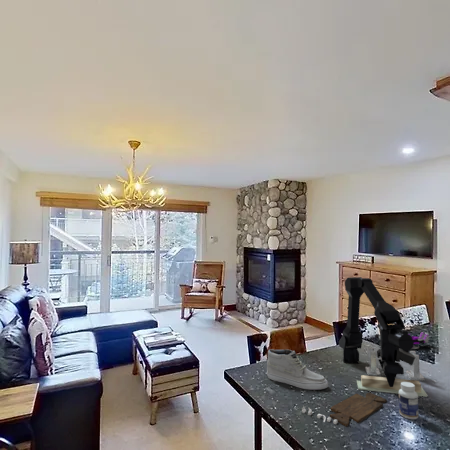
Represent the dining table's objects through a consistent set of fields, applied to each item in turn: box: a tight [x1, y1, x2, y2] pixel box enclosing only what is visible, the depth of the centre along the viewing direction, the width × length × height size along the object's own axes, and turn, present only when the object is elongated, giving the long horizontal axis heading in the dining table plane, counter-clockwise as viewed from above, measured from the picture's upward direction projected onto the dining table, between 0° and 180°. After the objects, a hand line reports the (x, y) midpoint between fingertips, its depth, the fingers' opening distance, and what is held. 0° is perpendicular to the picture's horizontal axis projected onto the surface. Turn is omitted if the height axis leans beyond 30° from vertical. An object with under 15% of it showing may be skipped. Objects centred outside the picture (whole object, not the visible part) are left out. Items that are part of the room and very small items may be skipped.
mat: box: [356, 380, 428, 398], centre depth 123 cm, size 23×7×1 cm, turn 73°
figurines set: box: [301, 406, 339, 425], centre depth 104 cm, size 12×3×3 cm, turn 51°
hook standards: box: [365, 347, 426, 382], centre depth 137 cm, size 21×7×10 cm, turn 73°
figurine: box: [374, 331, 430, 350], centre depth 172 cm, size 24×7×29 cm
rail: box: [360, 374, 422, 393], centre depth 123 cm, size 20×3×3 cm, turn 73°
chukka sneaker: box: [266, 348, 329, 390], centre depth 131 cm, size 9×25×12 cm, turn 61°
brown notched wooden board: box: [329, 392, 388, 427], centre depth 109 cm, size 26×2×10 cm
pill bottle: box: [398, 382, 419, 420], centre depth 105 cm, size 5×5×10 cm
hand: (390, 384), depth 123 cm, fingers open, 5 cm apart
